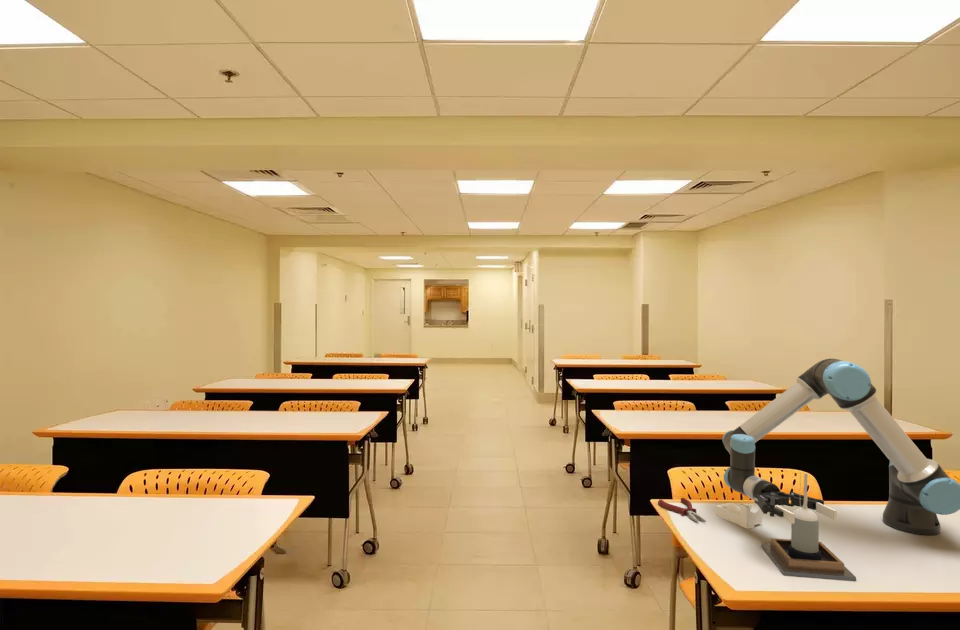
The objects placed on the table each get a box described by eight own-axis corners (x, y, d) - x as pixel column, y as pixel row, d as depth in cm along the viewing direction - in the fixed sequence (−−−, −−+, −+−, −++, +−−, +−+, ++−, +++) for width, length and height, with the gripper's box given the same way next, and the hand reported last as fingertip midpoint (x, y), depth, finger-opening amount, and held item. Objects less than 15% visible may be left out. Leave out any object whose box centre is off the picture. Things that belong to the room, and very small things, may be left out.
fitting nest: (825, 550, 160) (825, 539, 160) (856, 581, 142) (856, 568, 142) (761, 546, 163) (761, 535, 163) (783, 575, 146) (783, 562, 146)
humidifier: (807, 567, 148) (808, 478, 147) (781, 554, 155) (782, 470, 155) (828, 563, 150) (829, 475, 150) (802, 550, 158) (802, 467, 158)
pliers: (687, 526, 179) (687, 519, 179) (656, 505, 199) (656, 498, 199) (717, 524, 181) (717, 516, 181) (684, 503, 201) (684, 496, 201)
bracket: (762, 526, 179) (762, 503, 179) (746, 529, 176) (746, 507, 176) (730, 512, 191) (730, 491, 191) (715, 515, 189) (715, 494, 188)
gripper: (796, 500, 173) (852, 527, 152) (727, 505, 168) (775, 533, 147) (796, 477, 172) (852, 501, 152) (727, 482, 168) (775, 506, 147)
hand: (814, 517), depth 149 cm, fingers open, 13 cm apart
